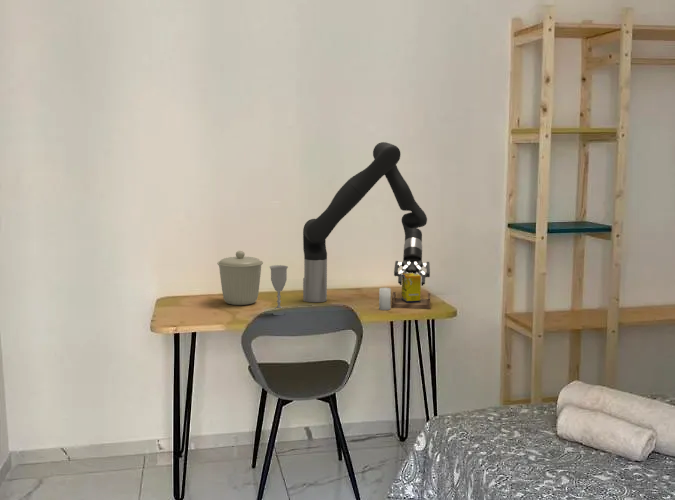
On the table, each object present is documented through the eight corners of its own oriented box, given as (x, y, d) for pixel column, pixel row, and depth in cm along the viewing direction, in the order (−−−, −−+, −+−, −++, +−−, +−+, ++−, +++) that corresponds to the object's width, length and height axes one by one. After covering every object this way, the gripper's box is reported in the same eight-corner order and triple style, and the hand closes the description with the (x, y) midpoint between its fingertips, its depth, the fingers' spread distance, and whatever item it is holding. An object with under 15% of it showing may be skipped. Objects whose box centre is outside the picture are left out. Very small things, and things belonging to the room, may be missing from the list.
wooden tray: (391, 307, 298) (391, 297, 298) (392, 301, 309) (393, 292, 308) (430, 308, 296) (430, 298, 296) (430, 302, 307) (430, 293, 307)
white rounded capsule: (378, 309, 294) (379, 289, 293) (379, 307, 298) (379, 287, 297) (390, 310, 294) (390, 289, 292) (390, 307, 298) (391, 287, 297)
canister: (260, 297, 315) (260, 247, 312) (265, 306, 298) (265, 253, 295) (216, 298, 312) (215, 248, 309) (219, 308, 294) (218, 254, 291)
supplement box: (401, 300, 305) (401, 273, 303) (415, 299, 306) (415, 272, 305) (406, 303, 299) (407, 275, 298) (420, 302, 301) (421, 275, 299)
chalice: (290, 315, 284) (290, 267, 281) (273, 316, 281) (272, 268, 279) (284, 311, 290) (284, 264, 288) (267, 312, 288) (267, 265, 285)
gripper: (395, 245, 308) (393, 278, 298) (430, 246, 306) (429, 279, 296) (395, 256, 314) (393, 289, 304) (430, 257, 312) (429, 290, 302)
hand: (411, 284), depth 300 cm, fingers open, 8 cm apart
